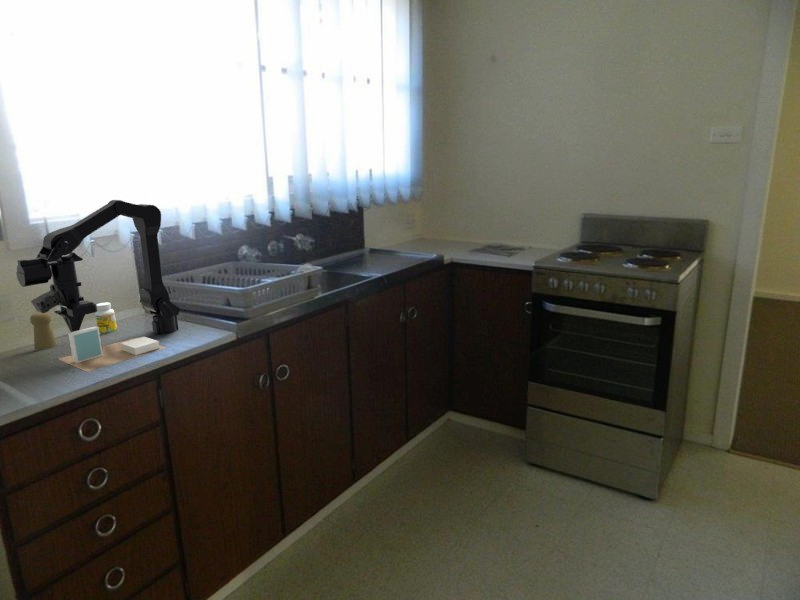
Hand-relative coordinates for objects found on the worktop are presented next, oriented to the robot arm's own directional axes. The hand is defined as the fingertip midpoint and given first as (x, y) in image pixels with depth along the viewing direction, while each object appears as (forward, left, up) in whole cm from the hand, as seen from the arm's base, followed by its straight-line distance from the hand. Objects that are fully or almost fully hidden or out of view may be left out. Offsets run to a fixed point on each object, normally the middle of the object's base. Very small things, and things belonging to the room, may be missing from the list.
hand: (75, 335), depth 160 cm
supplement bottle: (-16, -16, -7) cm, 24 cm away
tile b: (0, +6, -6) cm, 8 cm away
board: (-6, +7, -6) cm, 12 cm away
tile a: (-12, +7, -4) cm, 15 cm away
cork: (+2, -16, -7) cm, 18 cm away
